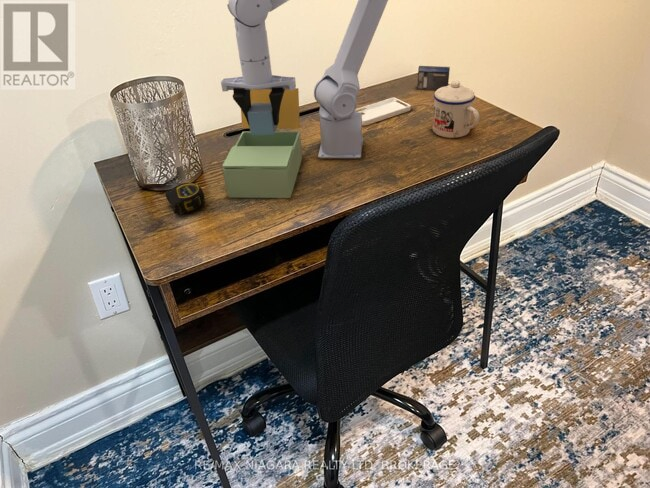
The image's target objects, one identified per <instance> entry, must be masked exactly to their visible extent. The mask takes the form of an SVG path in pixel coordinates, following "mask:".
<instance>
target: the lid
mask: <svg viewBox="0 0 650 488" xmlns="http://www.w3.org/2000/svg"><path fill="white" fill-rule="evenodd" d="M271 91H272V89H263V90H250V97H251V105H252V104H253V103H271V102H270V98H269V94H270V92H271ZM299 93H300V91H299V87H296V88H295V90H289V89H285V91H284V94H283V98H282V101H281V106H280V112H279V123H278V126H277V128H276V129H300V128H301V126H300V100H299V99H300V97H299V96H300V95H299ZM240 116H241V117H240V118H241V119H240V120H241V128H242V130H243V129H248V130H250V126H249V125H248V122H247V120H246V117H245V115H244V113H243V112H242V110H241V109H240Z"/></svg>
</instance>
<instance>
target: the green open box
mask: <svg viewBox="0 0 650 488" xmlns="http://www.w3.org/2000/svg"><path fill="white" fill-rule="evenodd" d="M301 138H302V137H301V131H300V130H276V131H275V133H274V135H251V132H250V130H249V131H248V130H247V131H246V130H244V131H242V132H241V133H240V135H239V137H238V139H237V141H236V143H235V145H232V147H230V150H229V152H228V154H227V156H226V158H225V160H224V161H223V163H222V165H221V167H222V173H223V179H224V183H225V188H226V193H227V198H246V199H250V198H251V199H291V198H292V194H293V191H294V187H295V184H296V181H297V177H298V175H299V171H300V167H301V165H302V160H303V149H302V139H301Z"/></svg>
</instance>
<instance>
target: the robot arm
mask: <svg viewBox="0 0 650 488" xmlns="http://www.w3.org/2000/svg"><path fill="white" fill-rule="evenodd" d="M289 1H290V0H228V3H227V9H228V11H229V13H230V14H231V16H232V17H233V20H234V28H235V39H236V45H237V51H238V57H239V63H240V69H241V76H235V77H228V78H227V77H225V78H222V80H221V81H220V86H221V90H222V92H229V91H233V92H232V93H233V94H232V99H233V101H234V102H235V103H236V104H237V105H238V107H239V109H240V111H241V110H242V112H243V113H244V115H245V117H246V120H247V122H248V125H249V119H248V111H249V109H250V107H251V97H250V90H263V89H272V91H271V92H270V94H269V98H270V102H271V106H272V112H273V121H274V125H278V123H279V112H280V106H281V101H282V98H283V94H284V91H285V89H289V90H295V88H297V83H296V77H295V76H283V75H274V74H273V72H272V71H273V70H272V65H271V56H270V47H269V40H268V34H267V33H268V32H267V27H266V20H267V18H268V15H269V13H271V12H273V11H274V10H276V9H278V8H279V7H280V6H283V5H284V4H286V3H287V2H289ZM388 2H389V0H357V3H356V5H355V8H354V11H353V13H352V16H351V18H350V21H349V24H348V25H347V28H346V31H345V34H344V36H343V38H342V41H341V44H340V47H339V48H338V52H337V54H336V57H335V60H334V61H333V63H332V64H331V65H330V66H328V67H327V68H326V69H325V70H324V72H323V75H322V77H321V78H320V79H319V80H318V81H317V82H316V83H315V85H314V89H313V97H314V99H315V102H317V104H319V110H318V117H319V118H318V119H319V130H320V131H319V132H320V133H319V134H320V147H319V150H318V155H317V157H318V159H362V152H363V151H362V150H363V146H364V137H363V125H362V115H363V113H357V112H358V111H355V109H357V106H358V94H359V92H360V89H361V86H360V81H359V76H358V75H359V72H360V70H361V68H362V65H363V63H364V60H365V58H366V56H367V53H368V50H369V48H370V46H371V42H372V40H373V38H374V36H375V33H376V32H377V28H378V26H379V24H380V21H381V19H382V17H383V14H384V11H385V9H386V7H387V4H388ZM249 126H250V125H249Z"/></svg>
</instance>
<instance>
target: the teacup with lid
mask: <svg viewBox="0 0 650 488" xmlns="http://www.w3.org/2000/svg"><path fill="white" fill-rule="evenodd" d="M433 98H434V100H433V101H434V102H433V115H432V131H433V133H434V134H435V135H437V136H439V137H442V138H447V139H456V138H462V137H465V136H467V135H468V134H469V133H470V130H471V129H474V128H475V127H476V126H477V125H478V124H479V122H480V113H479V111H478V110H477V109H476V108H475V107H474V100H475V98H476V95H475V91H474V90H473V89H471V88H469V87H467V86H464V85H462V84H461V82H460V81H459V80H453V81H451V82H450V84H448V86H445V87H441V88H439V89H438V90H435V91H434V94H433ZM472 115H473V122H472ZM471 123H472V124H471Z"/></svg>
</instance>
